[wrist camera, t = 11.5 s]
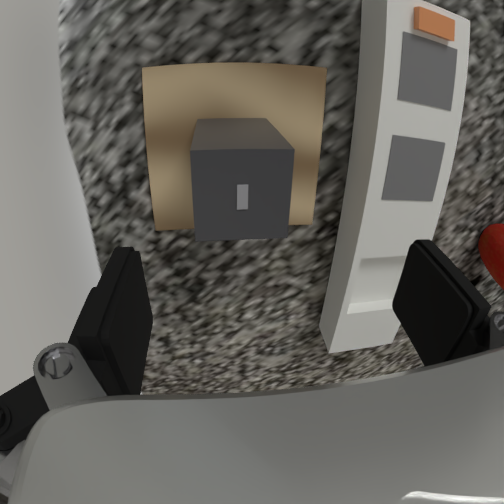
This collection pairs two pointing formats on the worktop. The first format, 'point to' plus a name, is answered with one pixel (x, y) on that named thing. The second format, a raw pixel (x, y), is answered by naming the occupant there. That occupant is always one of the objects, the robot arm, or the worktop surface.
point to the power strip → (394, 161)
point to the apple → (493, 251)
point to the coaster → (229, 106)
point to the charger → (240, 179)
